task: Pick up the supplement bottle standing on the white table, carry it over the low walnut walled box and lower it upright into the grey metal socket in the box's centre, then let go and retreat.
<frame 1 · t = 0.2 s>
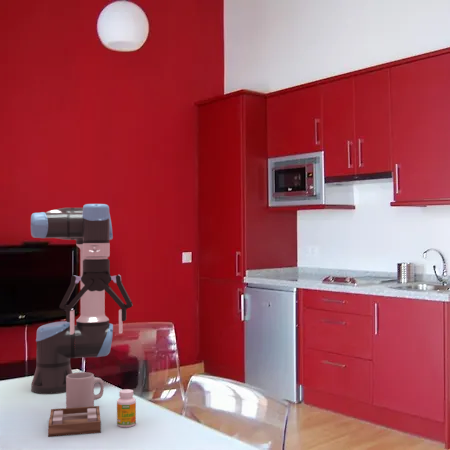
hand: (96, 333, 171), 27 cm above the table, fingers open, 13 cm apart
walled box: (75, 425, 174), on the table
mug: (85, 410, 190), on the table
supplement bottle: (126, 425, 174), on the table
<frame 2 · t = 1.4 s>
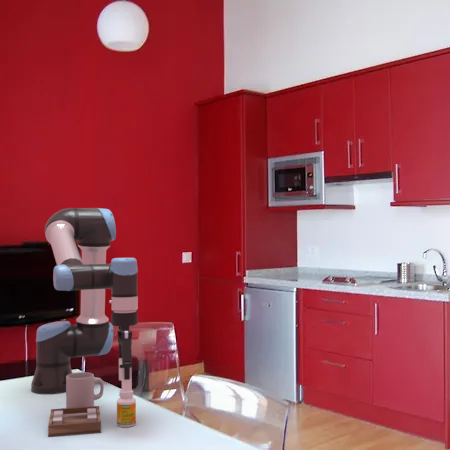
hand: (125, 385, 174), 11 cm above the table, fingers open, 13 cm apart
nothing on the table moved.
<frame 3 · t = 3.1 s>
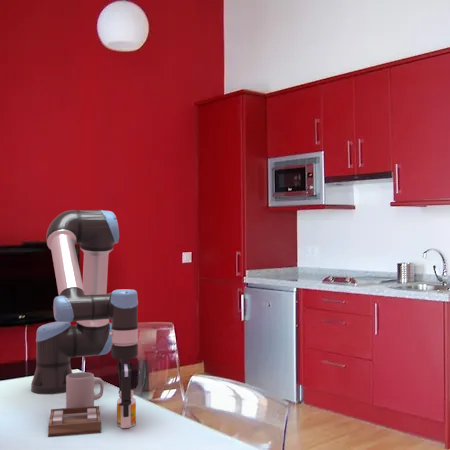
hand: (124, 424, 174), 0 cm above the table, fingers closed on supplement bottle, 5 cm apart
supplement bottle: (126, 425, 174), on the table, touching gripper
everything else where it was.
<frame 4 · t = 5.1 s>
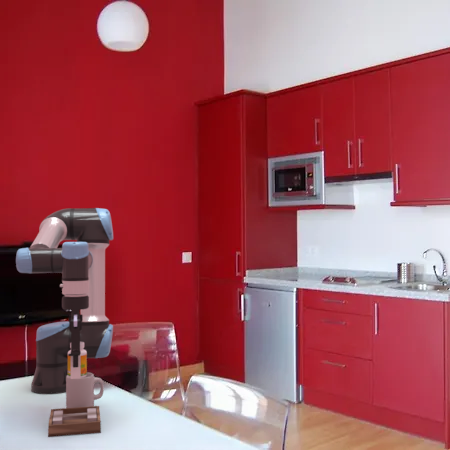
hand: (75, 375, 174), 14 cm above the table, fingers closed on supplement bottle, 5 cm apart
supplement bottle: (77, 377, 174), point 14 cm above the table, touching gripper
everything else where it was.
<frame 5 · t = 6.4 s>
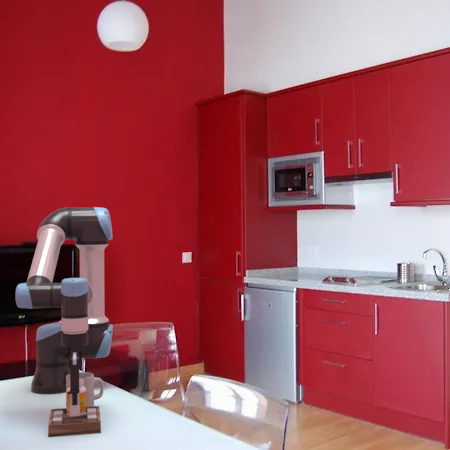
hand: (74, 412, 174), 4 cm above the table, fingers closed on supplement bottle, 5 cm apart
supplement bottle: (76, 414, 174), point 3 cm above the table, touching gripper
everything else where it was.
when the fingers open (3 cm above the table, at t = 7.5 s): supplement bottle drops 2 cm, resting on walled box.
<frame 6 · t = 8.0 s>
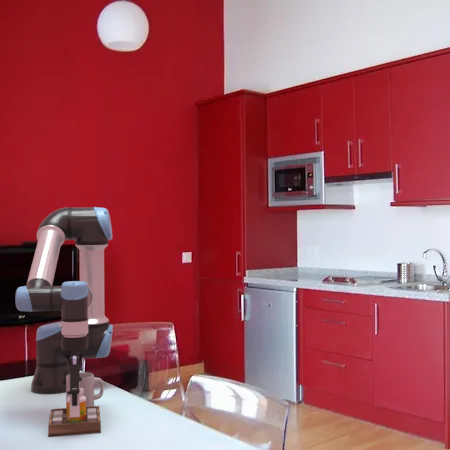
hand: (75, 410, 174), 4 cm above the table, fingers open, 12 cm apart
supplement bottle: (76, 423, 174), point 1 cm above the table, touching walled box
everything else where it was.
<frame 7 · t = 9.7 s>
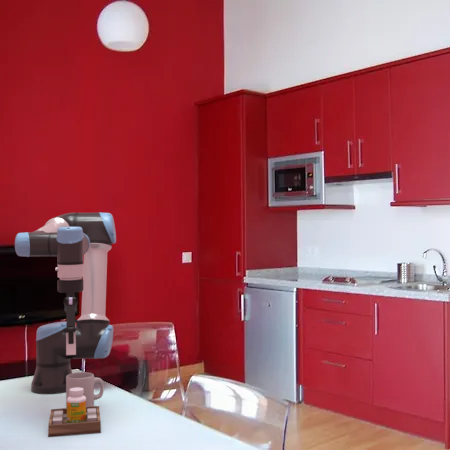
hand: (71, 349, 180), 21 cm above the table, fingers open, 13 cm apart
nothing on the table moved.
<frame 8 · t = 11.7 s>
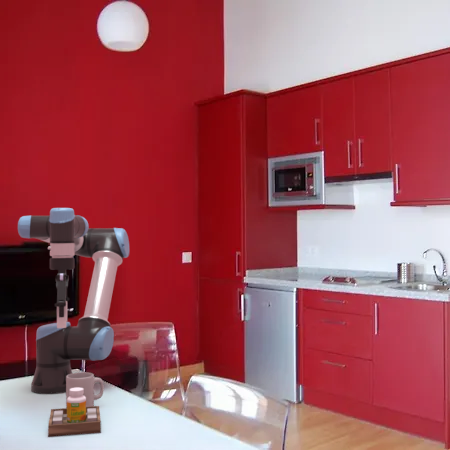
hand: (62, 324, 190), 27 cm above the table, fingers open, 13 cm apart
nothing on the table moved.
at the end: supplement bottle 0.5 cm from the walled box (horizontally); supplement bottle point 0.6 cm above the table; supplement bottle tilted 0° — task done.
